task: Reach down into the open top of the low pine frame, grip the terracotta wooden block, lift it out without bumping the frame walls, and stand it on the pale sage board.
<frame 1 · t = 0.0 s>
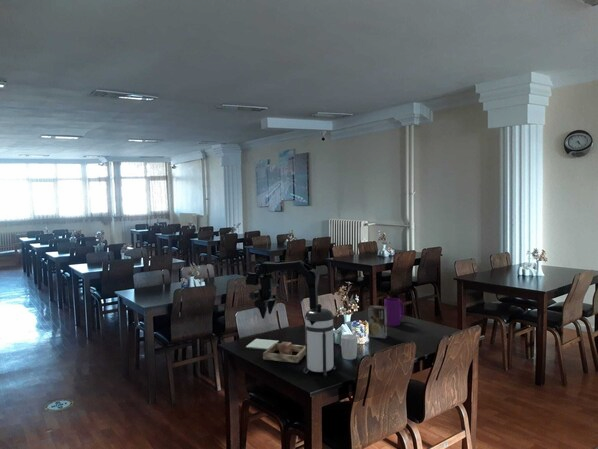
hand: (266, 316, 245), 15 cm above the table, tool pointing down, fingers open, 9 cm apart
coffee box: (377, 336, 256), on the table
pine frame: (285, 355, 228), on the table
coffee press: (320, 370, 209), on the table
terracotta block: (285, 349, 228), in the pine frame
white cup: (349, 357, 225), on the table
sage board: (262, 344, 245), on the table
mug: (395, 323, 280), on the table
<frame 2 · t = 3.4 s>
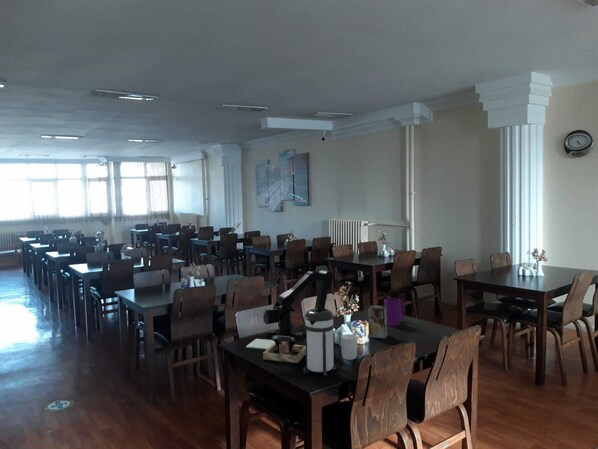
hand: (285, 352, 228), 1 cm above the table, tool pointing down, fingers closed on terracotta block, 4 cm apart
terracotta block: (285, 349, 228), in the pine frame, touching gripper
everything else where it was.
when the fingers open (3 cm above the table, at t = 9.1 s): terracotta block drops 1 cm, resting on sage board.
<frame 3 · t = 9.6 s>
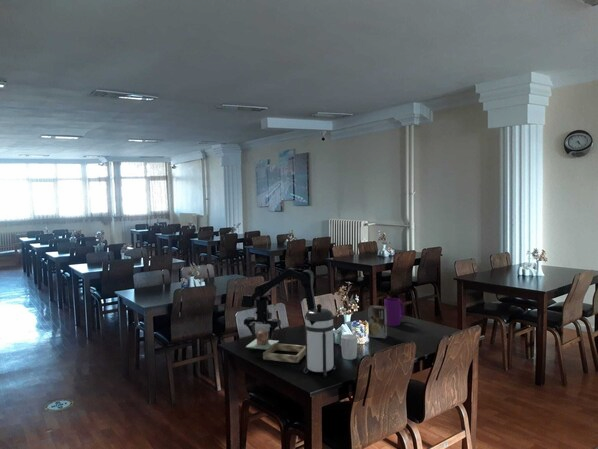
hand: (262, 338, 245), 3 cm above the table, tool pointing down, fingers open, 9 cm apart
terracotta block: (262, 337, 245), on the sage board, point 4 cm above the table
everything else where it was.
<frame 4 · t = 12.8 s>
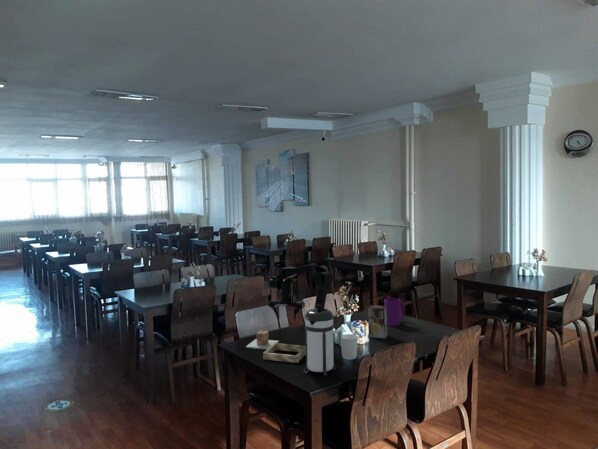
hand: (286, 320, 251), 11 cm above the table, tool pointing down, fingers open, 9 cm apart
nothing on the table moved.
at the end: terracotta block inside the target area on the sage board (0.1 cm from its centre), point 3.6 cm above the sage board's base; terracotta block tilted 0°; pine frame moved 0.0 cm from its start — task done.
